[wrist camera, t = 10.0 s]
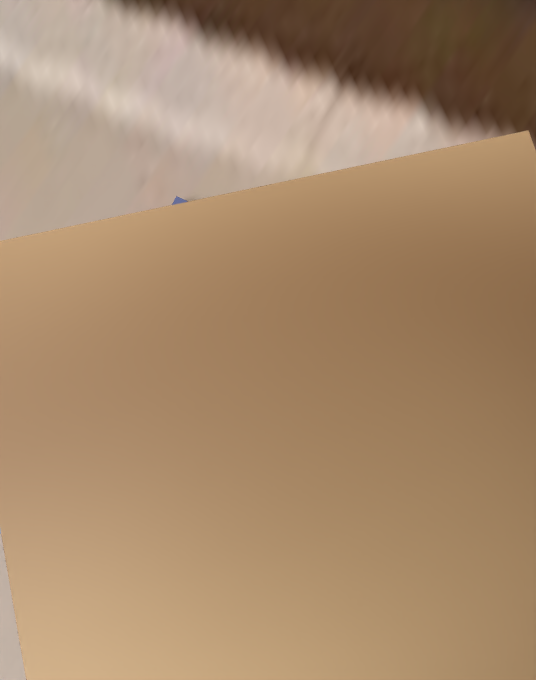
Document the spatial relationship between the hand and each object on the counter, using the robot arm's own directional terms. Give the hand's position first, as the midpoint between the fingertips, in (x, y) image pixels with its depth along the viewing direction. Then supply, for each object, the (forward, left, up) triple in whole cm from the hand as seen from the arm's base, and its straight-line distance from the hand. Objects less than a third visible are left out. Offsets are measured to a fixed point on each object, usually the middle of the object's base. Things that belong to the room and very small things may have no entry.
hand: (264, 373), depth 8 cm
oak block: (-1, -1, -8) cm, 8 cm away
